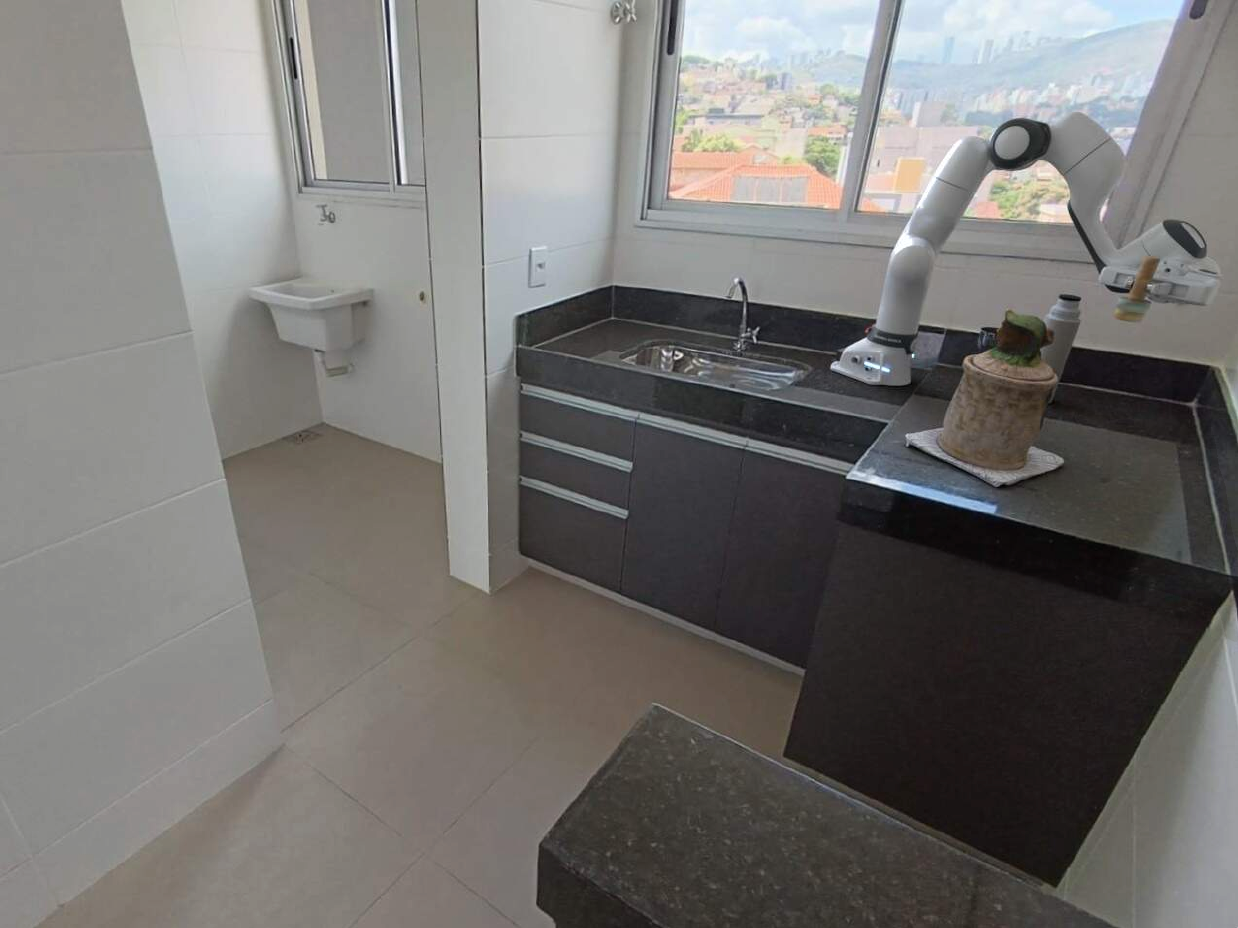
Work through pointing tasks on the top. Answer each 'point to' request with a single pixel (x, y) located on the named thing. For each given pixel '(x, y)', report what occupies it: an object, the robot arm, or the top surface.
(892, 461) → the top surface
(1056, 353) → the thermos bottle
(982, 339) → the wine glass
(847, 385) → the top surface
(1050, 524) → the top surface
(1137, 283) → the brush
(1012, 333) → the cookie jar
